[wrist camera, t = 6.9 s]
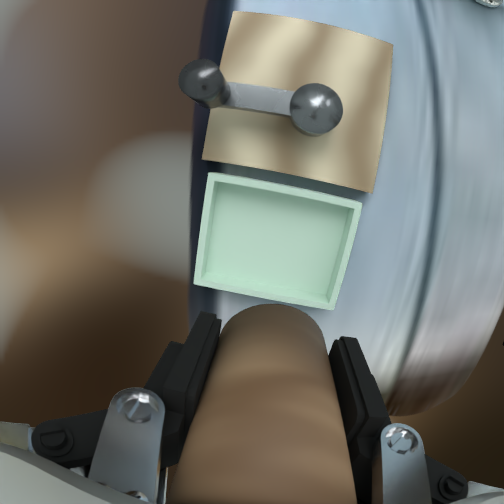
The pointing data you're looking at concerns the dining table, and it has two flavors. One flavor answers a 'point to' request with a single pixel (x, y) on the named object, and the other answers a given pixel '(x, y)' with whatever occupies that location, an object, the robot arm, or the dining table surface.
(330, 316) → the dining table surface
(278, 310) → the peg
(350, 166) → the plate
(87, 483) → the robot arm
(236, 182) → the tray
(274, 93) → the crank
